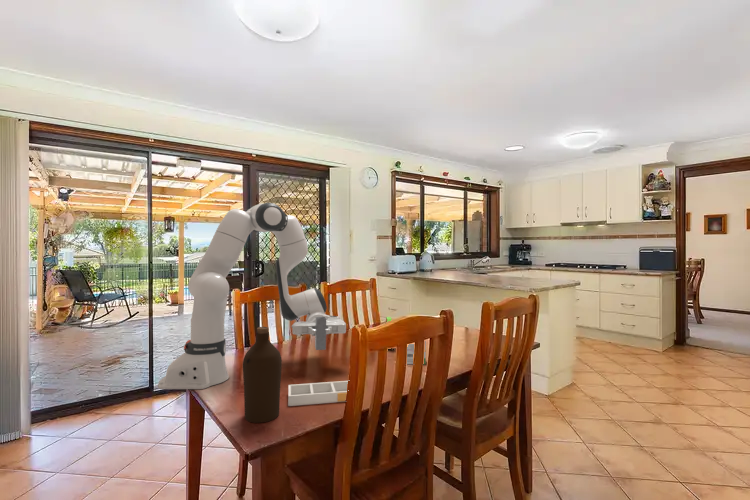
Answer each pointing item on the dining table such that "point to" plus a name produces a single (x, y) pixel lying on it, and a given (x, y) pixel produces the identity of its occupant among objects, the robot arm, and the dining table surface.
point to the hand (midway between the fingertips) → (320, 332)
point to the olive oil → (262, 379)
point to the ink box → (411, 351)
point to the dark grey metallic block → (320, 333)
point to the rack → (317, 393)
